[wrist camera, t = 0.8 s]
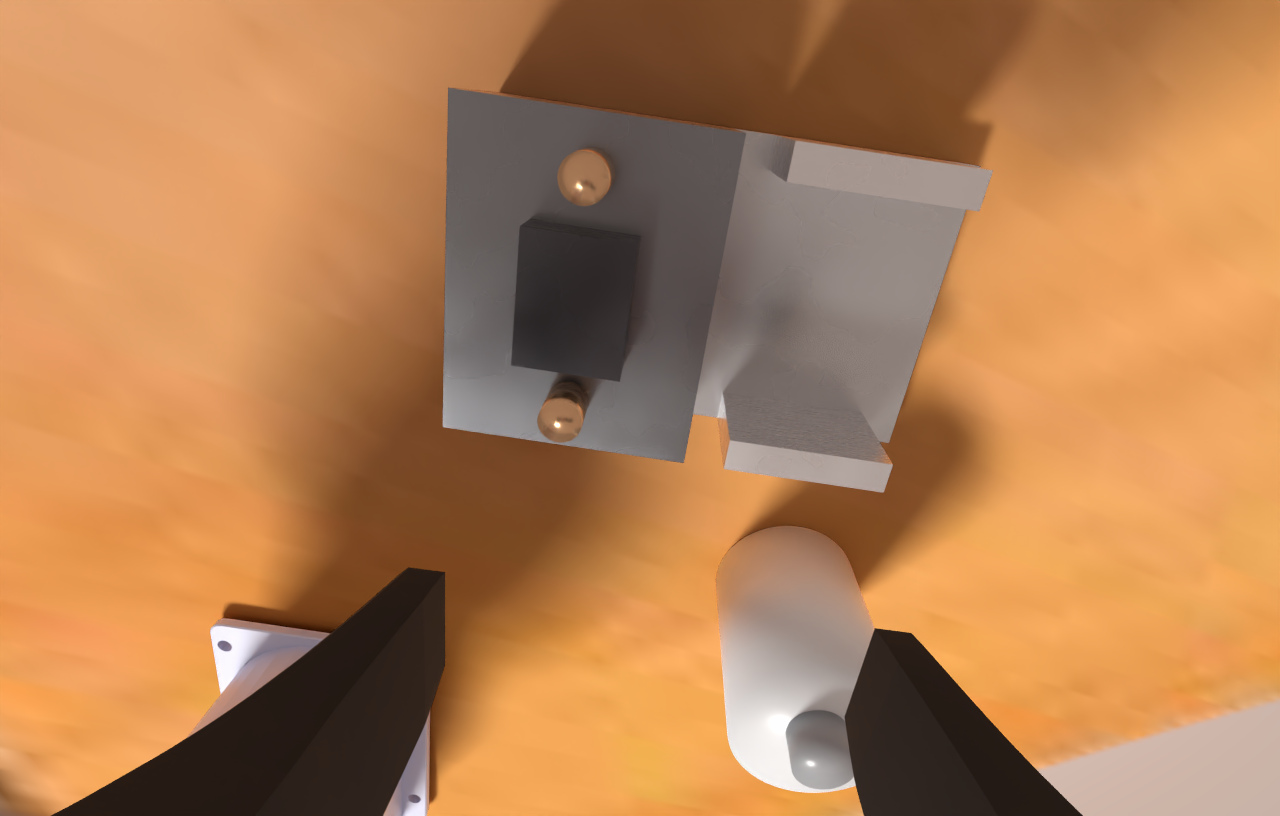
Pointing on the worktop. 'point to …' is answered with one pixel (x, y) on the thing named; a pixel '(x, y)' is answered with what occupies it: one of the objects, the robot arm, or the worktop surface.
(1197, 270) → the worktop surface
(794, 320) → the grey tray
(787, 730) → the white cylinder
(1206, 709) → the worktop surface
